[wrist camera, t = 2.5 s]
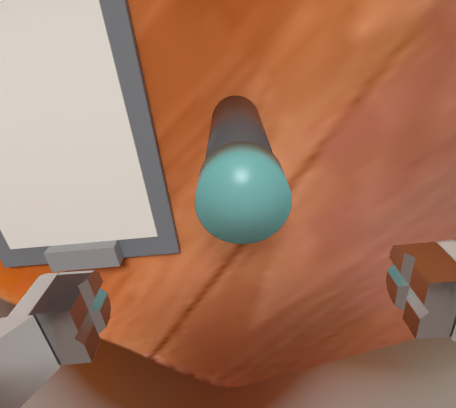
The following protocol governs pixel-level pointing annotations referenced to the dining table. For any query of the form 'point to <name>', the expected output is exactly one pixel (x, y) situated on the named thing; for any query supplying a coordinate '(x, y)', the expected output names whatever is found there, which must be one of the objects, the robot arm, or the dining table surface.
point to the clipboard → (77, 139)
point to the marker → (241, 177)
